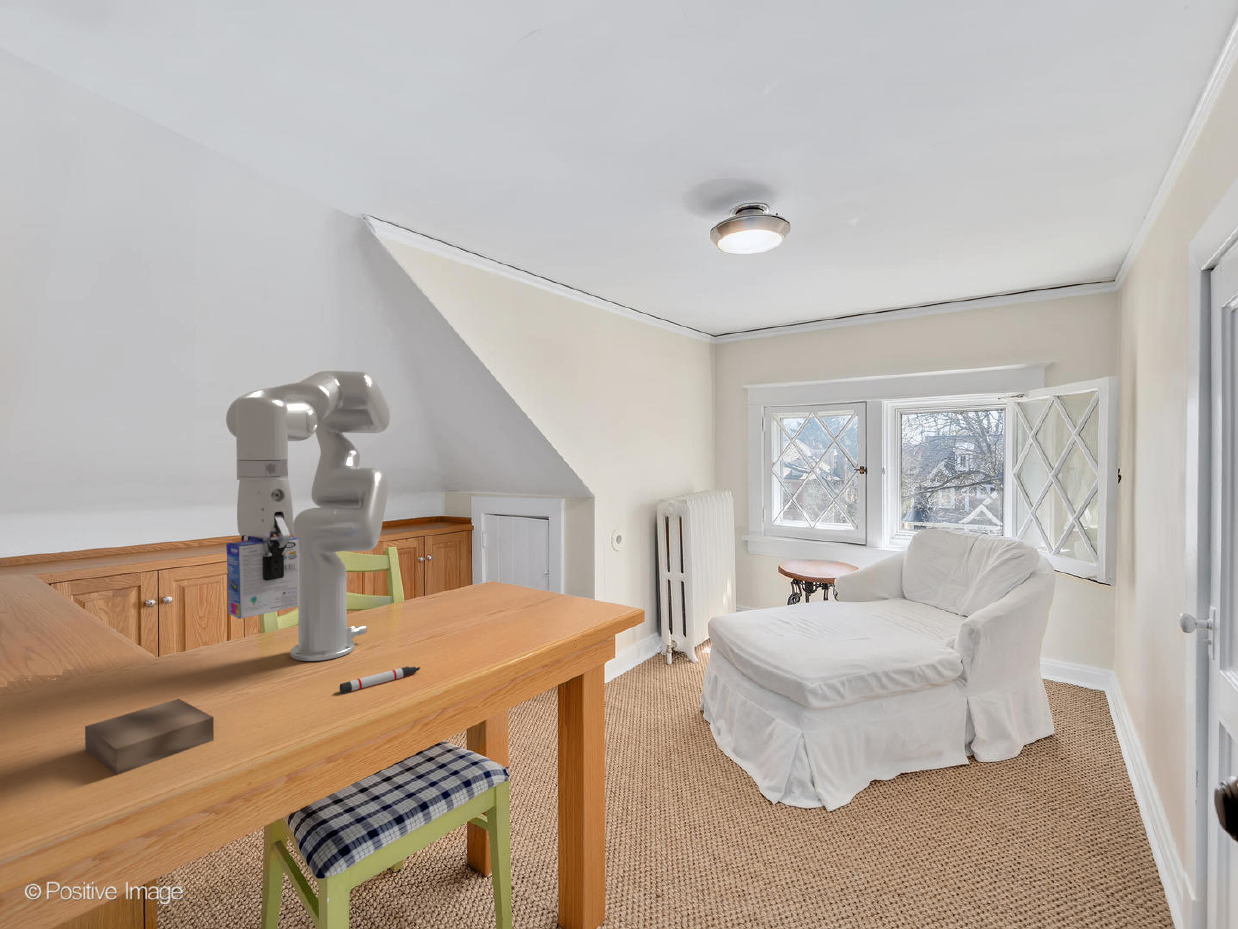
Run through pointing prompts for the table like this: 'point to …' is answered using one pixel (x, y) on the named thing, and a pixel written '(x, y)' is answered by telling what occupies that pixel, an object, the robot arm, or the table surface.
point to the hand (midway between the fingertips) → (263, 575)
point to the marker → (377, 679)
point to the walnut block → (148, 735)
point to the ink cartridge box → (260, 579)
